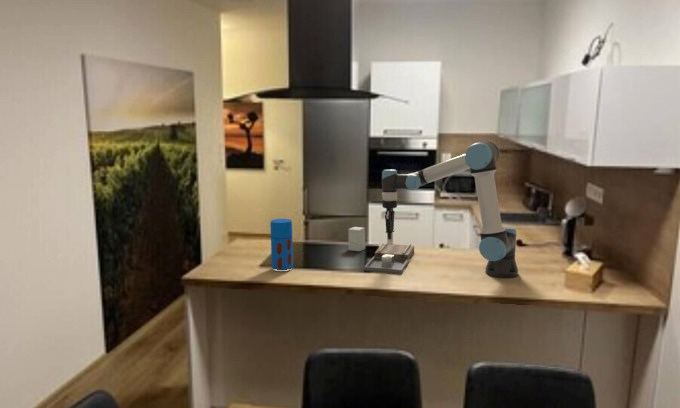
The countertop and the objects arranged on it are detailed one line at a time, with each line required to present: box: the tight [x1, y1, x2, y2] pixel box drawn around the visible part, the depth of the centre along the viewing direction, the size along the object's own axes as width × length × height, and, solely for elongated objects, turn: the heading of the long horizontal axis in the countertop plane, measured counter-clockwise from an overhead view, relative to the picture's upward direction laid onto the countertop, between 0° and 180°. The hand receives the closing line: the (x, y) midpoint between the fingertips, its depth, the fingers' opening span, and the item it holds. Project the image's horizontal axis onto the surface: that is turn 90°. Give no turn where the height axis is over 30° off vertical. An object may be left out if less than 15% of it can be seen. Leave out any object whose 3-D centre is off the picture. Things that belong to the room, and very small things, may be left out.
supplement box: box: [348, 226, 366, 252], centre depth 290 cm, size 7×7×13 cm
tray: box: [363, 255, 410, 275], centre depth 257 cm, size 19×20×2 cm
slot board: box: [374, 241, 415, 261], centre depth 276 cm, size 18×20×5 cm
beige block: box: [382, 255, 393, 267], centre depth 256 cm, size 5×5×4 cm
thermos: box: [269, 218, 294, 270], centre depth 252 cm, size 11×11×25 cm
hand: (390, 244), depth 260 cm, fingers closed
